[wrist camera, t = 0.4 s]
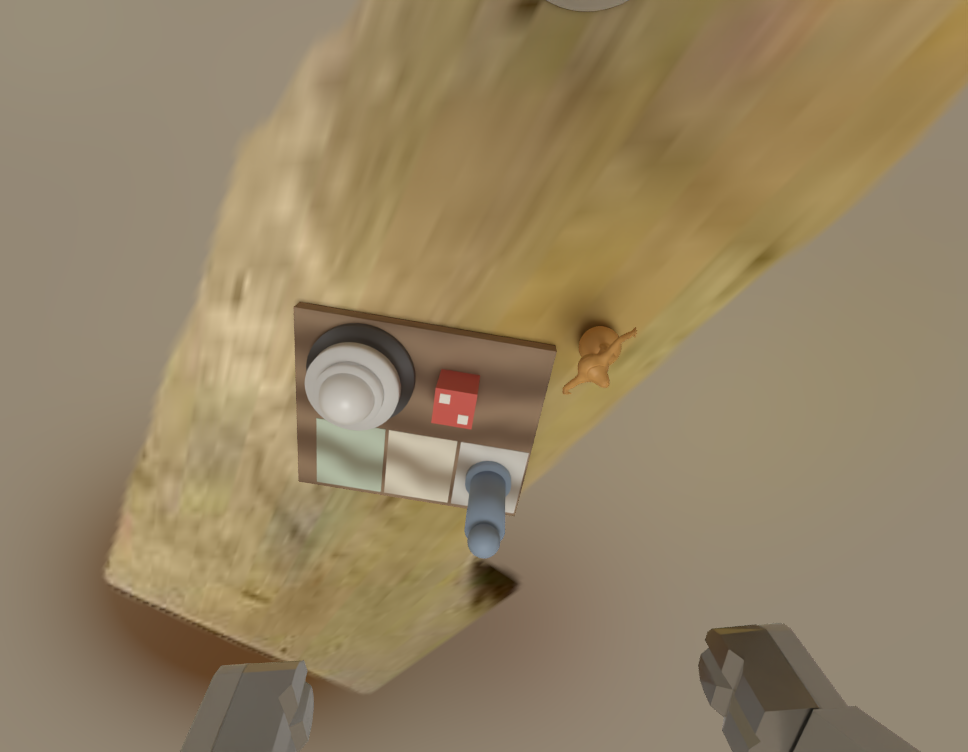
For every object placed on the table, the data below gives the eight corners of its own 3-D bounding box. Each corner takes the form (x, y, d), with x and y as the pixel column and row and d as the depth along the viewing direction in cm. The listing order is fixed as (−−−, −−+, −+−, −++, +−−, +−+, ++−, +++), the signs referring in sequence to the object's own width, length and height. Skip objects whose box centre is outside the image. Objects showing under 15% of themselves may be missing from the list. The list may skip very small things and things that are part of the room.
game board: (299, 302, 47) (289, 310, 45) (555, 345, 48) (557, 356, 46) (303, 473, 58) (295, 487, 55) (514, 507, 58) (514, 522, 56)
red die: (441, 368, 48) (435, 388, 45) (480, 375, 48) (477, 395, 45) (437, 402, 50) (431, 423, 47) (474, 408, 50) (471, 430, 47)
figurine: (580, 377, 50) (598, 445, 39) (538, 341, 48) (545, 402, 37) (642, 322, 46) (680, 379, 36) (600, 282, 45) (626, 329, 34)
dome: (310, 334, 45) (286, 358, 40) (404, 350, 45) (392, 376, 40) (311, 414, 49) (289, 444, 44) (397, 428, 49) (385, 459, 44)
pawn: (469, 457, 53) (459, 529, 44) (515, 465, 53) (515, 538, 44) (462, 492, 56) (452, 568, 46) (506, 499, 56) (505, 576, 46)
